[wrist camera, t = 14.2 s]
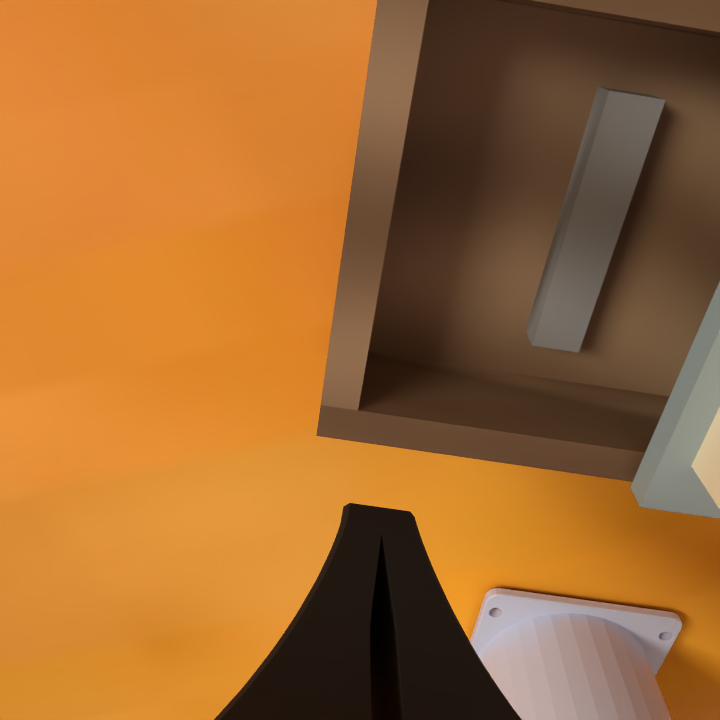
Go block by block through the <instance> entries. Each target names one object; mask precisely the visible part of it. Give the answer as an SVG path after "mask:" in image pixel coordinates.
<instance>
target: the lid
mask: <svg viewBox="0 0 720 720" xmlns="http://www.w3.org/2000/svg"><path fill="white" fill-rule="evenodd" d="M630 488H631V490H632V492H633V494H634V496H635V498H636V500H637V502H638V504H639V506H640V507H642V508H649V509H656V510H663V511H670V512H677V513H684V514H691V515H698V516H705V517H711V518H718V519H720V282H719V284H718V286H717V289H716V291H715V293H714V295H713V298H712V300H711V302H710V305H709V307H708V309H707V312H706V314H705V316H704V318H703V321H702V323H701V325H700V328H699V330H698V332H697V335H696V337H695V339H694V342H693V344H692V346H691V348H690V351H689V353H688V355H687V358H686V360H685V362H684V365H683V367H682V369H681V372H680V374H679V376H678V378H677V381H676V383H675V385H674V388H673V390H672V392H671V395H670V397H669V399H668V402H667V404H666V406H665V408H664V411H663V413H662V415H661V418H660V420H659V422H658V425H657V427H656V429H655V431H654V434H653V436H652V438H651V441H650V443H649V445H648V448H647V450H646V452H645V455H644V457H643V459H642V461H641V464H640V466H639V468H638V471H637V473H636V475H635V478H634V480H633V482H632V485H631V487H630Z"/></svg>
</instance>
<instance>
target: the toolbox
mask: <svg viewBox="0 0 720 720" xmlns="http://www.w3.org/2000/svg"><path fill="white" fill-rule="evenodd" d="M719 282H720V0H378V1H377V8H376V15H375V22H374V29H373V37H372V44H371V51H370V58H369V65H368V72H367V79H366V87H365V94H364V101H363V108H362V115H361V122H360V129H359V136H358V144H357V151H356V158H355V165H354V172H353V179H352V186H351V194H350V201H349V208H348V215H347V222H346V229H345V236H344V244H343V251H342V258H341V265H340V272H339V279H338V286H337V293H336V301H335V308H334V315H333V322H332V329H331V336H330V343H329V351H328V358H327V365H326V372H325V379H324V386H323V393H322V401H321V408H320V415H319V422H318V429H317V436H322V437H329V438H336V439H343V440H349V441H356V442H363V443H370V444H377V445H384V446H391V447H398V448H405V449H411V450H418V451H425V452H432V453H439V454H446V455H453V456H460V457H466V458H473V459H480V460H487V461H494V462H501V463H508V464H515V465H522V466H528V467H535V468H542V469H549V470H556V471H563V472H570V473H577V474H583V475H590V476H597V477H604V478H611V479H618V480H625V481H632V482H633V480H634V478H635V475H636V473H637V471H638V468H639V466H640V464H641V461H642V459H643V457H644V455H645V452H646V450H647V448H648V445H649V443H650V441H651V438H652V436H653V434H654V431H655V429H656V427H657V425H658V422H659V420H660V418H661V415H662V413H663V411H664V408H665V406H666V404H667V402H668V399H669V397H670V395H671V392H672V390H673V388H674V385H675V383H676V381H677V378H678V376H679V374H680V372H681V369H682V367H683V365H684V362H685V360H686V358H687V355H688V353H689V351H690V348H691V346H692V344H693V342H694V339H695V337H696V335H697V332H698V330H699V328H700V325H701V323H702V321H703V318H704V316H705V314H706V312H707V309H708V307H709V305H710V302H711V300H712V298H713V295H714V293H715V291H716V289H717V286H718V284H719Z"/></svg>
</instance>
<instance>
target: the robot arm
mask: <svg viewBox="0 0 720 720" xmlns="http://www.w3.org/2000/svg"><path fill="white" fill-rule="evenodd" d="M493 608H497V609H493ZM681 629H682V622H681V620H680V618H679V616H678V615H677V614H676V613H673V612H668V611H661V610H654V609H646V608H639V607H632V606H625V605H618V604H610V603H603V602H596V601H589V600H582V599H574V598H567V597H560V596H553V595H546V594H538V593H531V592H524V591H517V590H510V589H503V588H494V589H491V590H489V591H488V592H487V593H486V595H485V597H484V600H483V603H482V606H481V609H480V612H479V615H478V618H477V621H476V624H475V627H474V630H473V633H472V636H471V639H470V641H469V640H468V638H467V636H466V634H465V632H464V631H463V629H462V627H461V625H460V623H459V621H458V620H457V618H456V616H455V614H454V612H453V610H452V608H451V606H450V604H449V602H448V600H447V598H446V596H445V593H444V591H443V589H442V587H441V585H440V583H439V581H438V579H437V576H436V574H435V572H434V569H433V567H432V565H431V562H430V560H429V557H428V555H427V552H426V550H425V547H424V545H423V542H422V539H421V536H420V533H419V530H418V527H417V524H416V521H415V517H414V516H413V514H412V513H411V512H410V511H403V510H395V509H388V508H381V507H374V506H367V505H360V504H353V503H349V504H347V505H346V506H344V507H343V513H342V519H341V523H340V527H339V530H338V533H337V536H336V538H335V541H334V543H333V546H332V548H331V551H330V553H329V555H328V557H327V559H326V561H325V563H324V565H323V568H322V570H321V572H320V574H319V576H318V578H317V580H316V582H315V583H314V585H313V587H312V589H311V590H310V592H309V594H308V595H307V597H306V599H305V601H304V602H303V604H302V606H301V608H300V609H299V611H298V613H297V614H296V616H295V617H294V619H293V620H292V622H291V624H290V625H289V627H288V628H287V630H286V631H285V633H284V634H283V635H282V637H281V638H280V640H279V641H278V643H277V644H276V645H275V647H274V648H273V650H272V651H271V652H270V654H269V655H268V656H267V658H266V659H265V660H264V661H263V663H262V664H261V665H260V667H259V668H258V669H257V671H256V672H255V673H254V675H253V676H252V677H251V678H250V679H249V681H248V682H247V683H246V684H245V686H244V687H243V688H242V689H241V690H240V691H239V693H238V694H237V695H236V696H235V697H234V698H233V699H232V700H231V701H230V703H229V704H228V705H227V706H226V707H225V708H224V709H223V710H222V711H221V713H220V714H219V715H218V716H217V717H216V718H215V719H214V720H672V719H671V716H670V714H669V711H668V709H667V706H666V704H665V701H664V698H663V696H662V693H661V691H660V688H659V686H658V683H657V681H656V678H655V676H656V674H657V672H658V670H659V669H660V667H661V665H662V663H663V661H664V659H665V658H666V656H667V654H668V652H669V650H670V649H671V647H672V645H673V643H674V641H675V640H676V638H677V636H678V634H679V632H680V631H681Z"/></svg>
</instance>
